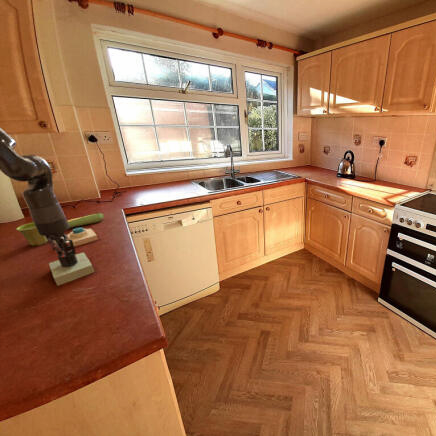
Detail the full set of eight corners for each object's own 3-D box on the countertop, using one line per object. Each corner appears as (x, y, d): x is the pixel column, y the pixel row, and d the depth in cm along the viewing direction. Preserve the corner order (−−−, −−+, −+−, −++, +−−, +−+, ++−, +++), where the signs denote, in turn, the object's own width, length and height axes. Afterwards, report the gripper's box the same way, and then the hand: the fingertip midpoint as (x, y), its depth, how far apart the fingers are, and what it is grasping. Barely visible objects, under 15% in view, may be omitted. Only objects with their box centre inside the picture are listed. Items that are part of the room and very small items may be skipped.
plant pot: (29, 250, 103) (19, 231, 100) (22, 245, 107) (13, 227, 104) (57, 241, 110) (49, 223, 107) (50, 236, 115) (42, 219, 112)
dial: (65, 261, 87) (60, 251, 85) (80, 259, 88) (75, 249, 87) (59, 268, 83) (54, 257, 82) (74, 265, 84) (69, 255, 83)
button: (73, 232, 109) (71, 229, 109) (83, 230, 112) (81, 226, 111) (74, 235, 107) (73, 231, 106) (84, 232, 110) (83, 228, 109)
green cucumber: (106, 221, 131) (103, 213, 130) (56, 233, 118) (53, 224, 117) (104, 218, 135) (101, 211, 133) (56, 230, 122) (52, 221, 120)
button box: (65, 239, 111) (62, 231, 110) (92, 232, 118) (89, 224, 116) (70, 247, 104) (66, 239, 102) (98, 239, 111) (95, 231, 109)
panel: (51, 270, 88) (48, 262, 87) (86, 258, 95) (83, 251, 94) (57, 285, 79) (53, 277, 78) (94, 272, 86) (91, 264, 85)
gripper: (25, 218, 79) (47, 263, 86) (43, 226, 73) (65, 274, 79) (54, 211, 85) (72, 253, 92) (74, 217, 79) (91, 262, 85)
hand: (69, 262), depth 86 cm, fingers closed on dial, 4 cm apart
